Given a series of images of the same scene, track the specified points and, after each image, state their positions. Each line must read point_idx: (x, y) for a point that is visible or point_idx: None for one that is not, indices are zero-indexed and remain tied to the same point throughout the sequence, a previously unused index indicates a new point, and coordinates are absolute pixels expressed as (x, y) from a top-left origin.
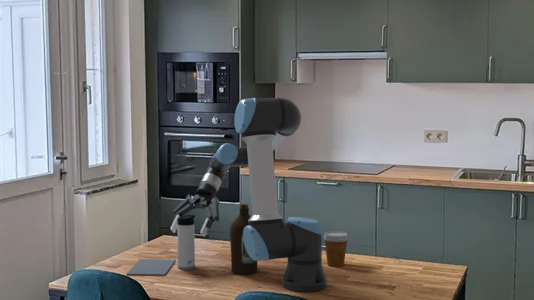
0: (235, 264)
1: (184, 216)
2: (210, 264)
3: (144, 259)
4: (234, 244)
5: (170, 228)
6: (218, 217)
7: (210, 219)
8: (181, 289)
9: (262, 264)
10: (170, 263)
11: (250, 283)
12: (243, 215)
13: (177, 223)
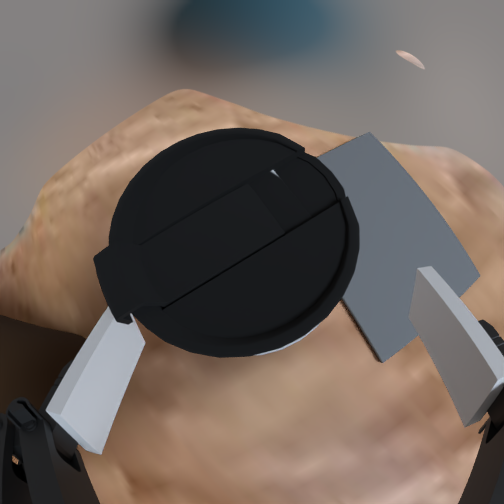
0: (57, 330)
1: (314, 284)
2: (218, 407)
3: (468, 282)
4: (4, 317)
5: (429, 266)
6: (18, 464)
7: (45, 417)
8: (144, 139)
9: None
10: (358, 304)
11: (29, 276)
12: None
13: (445, 353)
